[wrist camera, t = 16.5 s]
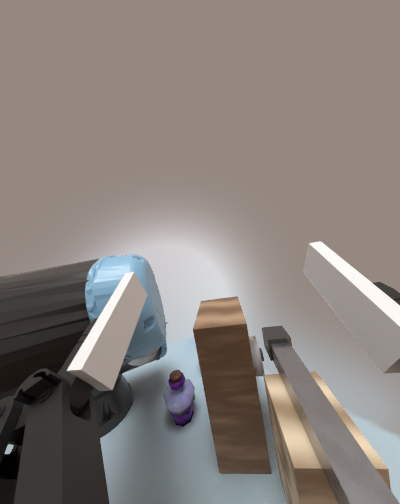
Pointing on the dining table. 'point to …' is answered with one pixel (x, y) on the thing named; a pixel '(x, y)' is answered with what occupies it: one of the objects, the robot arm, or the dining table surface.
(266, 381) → the oak block
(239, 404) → the post
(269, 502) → the dining table surface
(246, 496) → the dining table surface
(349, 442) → the grey long bar
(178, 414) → the potion bottle
